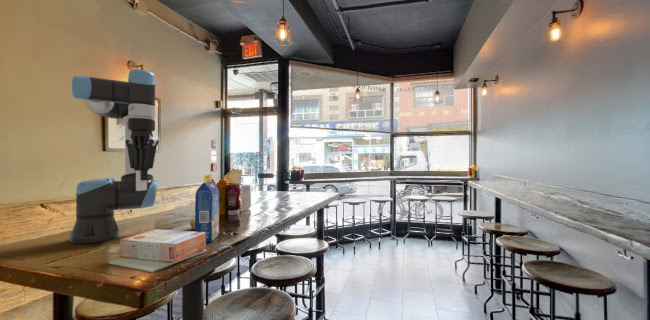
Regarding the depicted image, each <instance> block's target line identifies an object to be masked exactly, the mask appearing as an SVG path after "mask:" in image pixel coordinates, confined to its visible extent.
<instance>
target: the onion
mask: <svg viewBox="0 0 650 320" xmlns="http://www.w3.org/2000/svg"><path fill="white" fill-rule="evenodd" d="M189 226H190V227H191V229H193V230H194V231H195V216H193V217H192V218H191V219H190V221H189Z"/></svg>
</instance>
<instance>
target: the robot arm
mask: <svg viewBox="0 0 650 320" xmlns="http://www.w3.org/2000/svg"><path fill="white" fill-rule="evenodd" d="M71 79H72V80H71V92H72V97H73V98H74V99H78V100H83V101H84V102H85V105H86V107H87V108H88V110H89V111H91V112H92V113H94V114H97V115H98V116H101V117H103V118H104V117H105V118H108V119H113V120H114V119H116V120H117V119H118V120H120V123H121V124H122V125H123V126H124V139H125V140H124V153H125V154H124V155H125V156H124V162H125V163H124V165H125V167H124V168H125V169H124V170H125V171H124V174H122V175H121V177H120V180H116V179H115V178H114V177H105V178H97V179H89V180H83V181H80V182H79V183H77V185H76V193H75V196H76V198H75V200H76V201H75V202H76V206H75V209H76V210H75V211H76V212H75V213H76V214H75V222H74V224H73V227H72V230H71V233H70V234H69V243H71V244H81V245H82V244H92V243H101V242H106V241H109V240H110V241H111V240H113V239H116V238H118V237H119V236H120V229H119V226H118V224H117V221H116V219H115V211H119V210H133V209H141V210H142V209H144V208H145V209H146V208H152V207H153V206H154V204H155V201H156V198H157V190H158V180H157V179H154V175H153V174H152V173H150V170H151V169H153V168H154V163H155V159H156V152H157V151H156V150H157V147H158V144H159V143H160V140H159V139H155V138H154V134H153V132H155V130H156V121H155V119H156V84H157V82H156V75H155V74H154V73H153V72H151V71H148V70H146V69H145V70H144V69H130V71H128V77H127V81H124V80H118V79H117V80H116V79H108V78H101V77H100V78H99V77H93V76H88V75H73V76H72V78H71Z"/></svg>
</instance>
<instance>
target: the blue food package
mask: <svg viewBox="0 0 650 320" xmlns="http://www.w3.org/2000/svg"><path fill="white" fill-rule="evenodd" d="M212 176H213V175H212V174H205V175H203V183H202V184H201V185H200V186H199V187H198V189H196V192H195V201H194V203H195V204H194V205H195V208H194V209H195V211H194V215H195V230H194V232H206V243H212V242H213V241H214V240H215V239H216V238H217V237H218V236H219V234H220V190H219V188H218V186H217V185H216V183H215V182H214V181H213V180H212V179H213V177H212Z"/></svg>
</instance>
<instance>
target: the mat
mask: <svg viewBox="0 0 650 320" xmlns="http://www.w3.org/2000/svg"><path fill="white" fill-rule="evenodd" d="M207 250H208V249H207V248H206V249H204V250H202V251H200V252H197V253H195V254H193V255H191V256H189V257H187V258H184V259H182V260H180V261H178V262H176V263H174V262H164V261H154V260H144V259H135V258H125V257H118V258H116V259H112V260H108V264H109V265H113V266H114V265H115V266H119V267H122V268H123V267H124V268H128V269H134V270H138V271H143V272H149V273H153V272H156V271H158V270H162V269H164V268H167V267H170V266H171V265H174V264H177V263H180V262H182V261H183V262H184V261H185V260H187V259H190V258H193V257H196V256H198V255H200V254H204V253H205V252H208V251H207Z"/></svg>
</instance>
